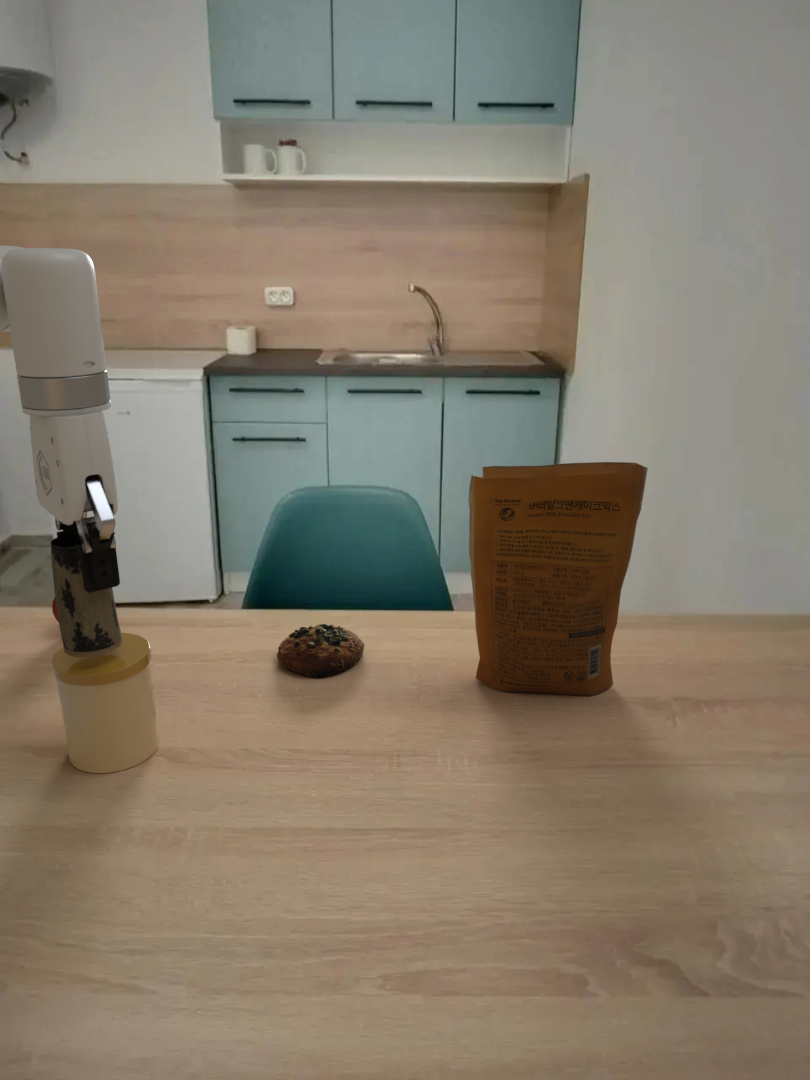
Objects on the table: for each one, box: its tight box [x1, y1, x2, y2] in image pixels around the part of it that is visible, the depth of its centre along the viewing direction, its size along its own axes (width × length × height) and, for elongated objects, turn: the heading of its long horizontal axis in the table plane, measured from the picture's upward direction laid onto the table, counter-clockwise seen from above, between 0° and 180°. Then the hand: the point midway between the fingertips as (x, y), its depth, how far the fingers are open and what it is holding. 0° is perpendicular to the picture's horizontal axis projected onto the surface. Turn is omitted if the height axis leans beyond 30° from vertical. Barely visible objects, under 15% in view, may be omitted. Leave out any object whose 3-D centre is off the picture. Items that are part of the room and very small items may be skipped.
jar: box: [51, 632, 160, 774], centre depth 85 cm, size 9×9×11 cm
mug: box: [50, 524, 123, 657], centre depth 81 cm, size 8×6×12 cm
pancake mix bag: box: [467, 461, 649, 697], centre depth 94 cm, size 7×19×28 cm, turn 84°
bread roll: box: [276, 623, 365, 679], centre depth 106 cm, size 11×11×5 cm
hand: (90, 575), depth 81 cm, fingers closed on mug, 6 cm apart
